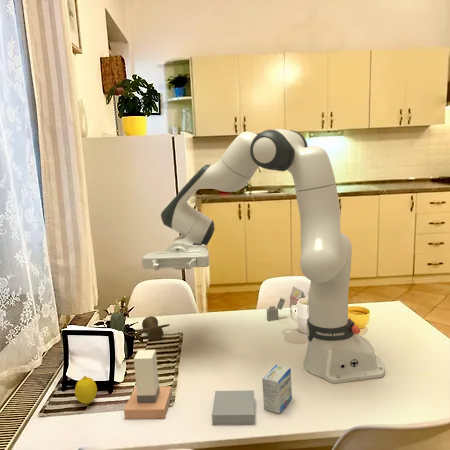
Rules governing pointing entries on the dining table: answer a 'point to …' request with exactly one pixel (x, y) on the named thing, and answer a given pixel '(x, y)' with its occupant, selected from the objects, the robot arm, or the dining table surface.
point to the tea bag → (296, 296)
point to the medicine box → (277, 388)
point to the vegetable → (118, 321)
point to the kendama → (152, 328)
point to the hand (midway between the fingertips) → (171, 267)
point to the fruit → (85, 390)
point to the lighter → (274, 311)
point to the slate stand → (233, 407)
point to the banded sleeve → (146, 376)
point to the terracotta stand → (149, 405)
